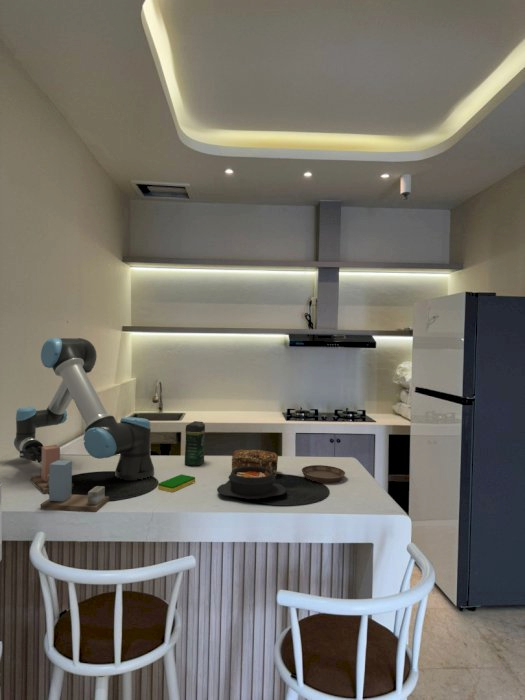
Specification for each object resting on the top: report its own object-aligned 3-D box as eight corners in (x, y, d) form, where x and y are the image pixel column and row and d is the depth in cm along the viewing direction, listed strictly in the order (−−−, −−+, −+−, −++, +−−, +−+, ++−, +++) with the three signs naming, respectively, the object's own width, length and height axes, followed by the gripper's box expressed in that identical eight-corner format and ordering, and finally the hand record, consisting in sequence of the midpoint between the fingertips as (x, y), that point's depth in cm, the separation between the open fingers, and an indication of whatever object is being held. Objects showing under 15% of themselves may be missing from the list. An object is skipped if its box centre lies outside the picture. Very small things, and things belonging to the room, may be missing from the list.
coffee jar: (199, 467, 198) (200, 424, 197) (182, 465, 199) (183, 423, 198) (206, 461, 207) (207, 420, 207) (189, 460, 209) (190, 419, 208)
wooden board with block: (40, 508, 147) (40, 491, 147) (56, 497, 157) (56, 482, 157) (96, 511, 146) (96, 494, 146) (109, 500, 156) (109, 484, 155)
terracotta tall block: (41, 478, 172) (41, 446, 172) (55, 475, 175) (55, 444, 175) (45, 481, 168) (45, 449, 168) (59, 479, 172) (59, 447, 171)
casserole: (282, 486, 175) (283, 464, 175) (289, 503, 157) (290, 479, 157) (217, 486, 173) (217, 464, 173) (216, 504, 155) (217, 479, 154)
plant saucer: (341, 472, 196) (341, 465, 196) (348, 485, 178) (348, 478, 178) (300, 471, 196) (300, 464, 196) (303, 484, 178) (303, 476, 178)
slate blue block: (49, 500, 149) (49, 464, 149) (57, 495, 154) (57, 460, 154) (63, 501, 149) (64, 465, 149) (71, 496, 154) (71, 460, 154)
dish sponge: (157, 490, 169) (157, 483, 169) (181, 480, 181) (181, 473, 181) (172, 493, 165) (172, 486, 165) (195, 483, 178) (195, 476, 178)
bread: (230, 477, 185) (231, 452, 185) (234, 469, 196) (234, 446, 195) (276, 479, 184) (277, 454, 183) (277, 471, 194) (278, 448, 194)
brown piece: (30, 480, 175) (30, 466, 175) (57, 475, 181) (57, 462, 181) (44, 493, 161) (44, 478, 161) (73, 488, 167) (73, 473, 167)
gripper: (48, 454, 196) (66, 467, 178) (14, 459, 187) (29, 473, 170) (48, 437, 196) (66, 448, 178) (14, 441, 187) (29, 453, 169)
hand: (48, 460), depth 174 cm, fingers closed
